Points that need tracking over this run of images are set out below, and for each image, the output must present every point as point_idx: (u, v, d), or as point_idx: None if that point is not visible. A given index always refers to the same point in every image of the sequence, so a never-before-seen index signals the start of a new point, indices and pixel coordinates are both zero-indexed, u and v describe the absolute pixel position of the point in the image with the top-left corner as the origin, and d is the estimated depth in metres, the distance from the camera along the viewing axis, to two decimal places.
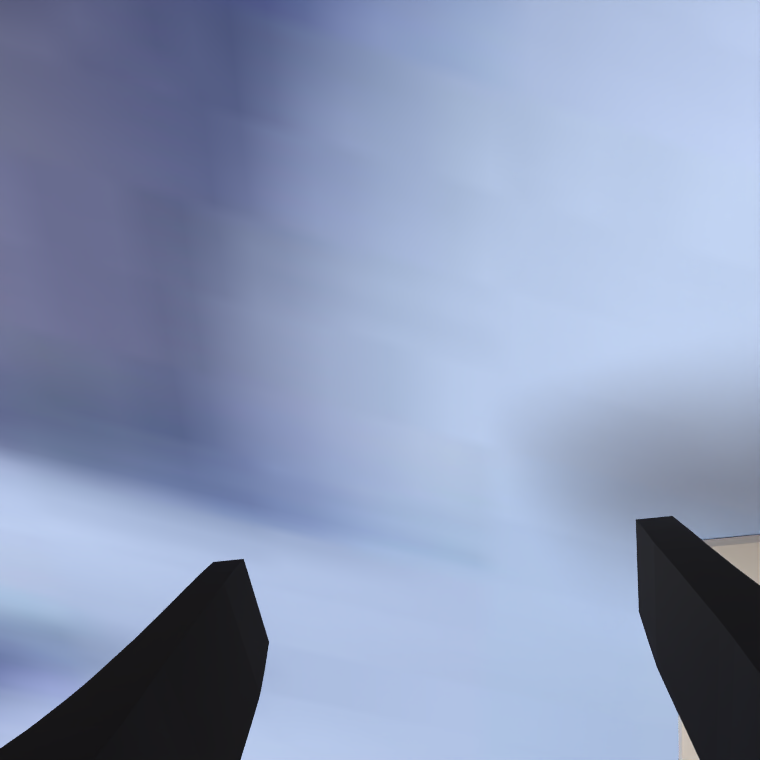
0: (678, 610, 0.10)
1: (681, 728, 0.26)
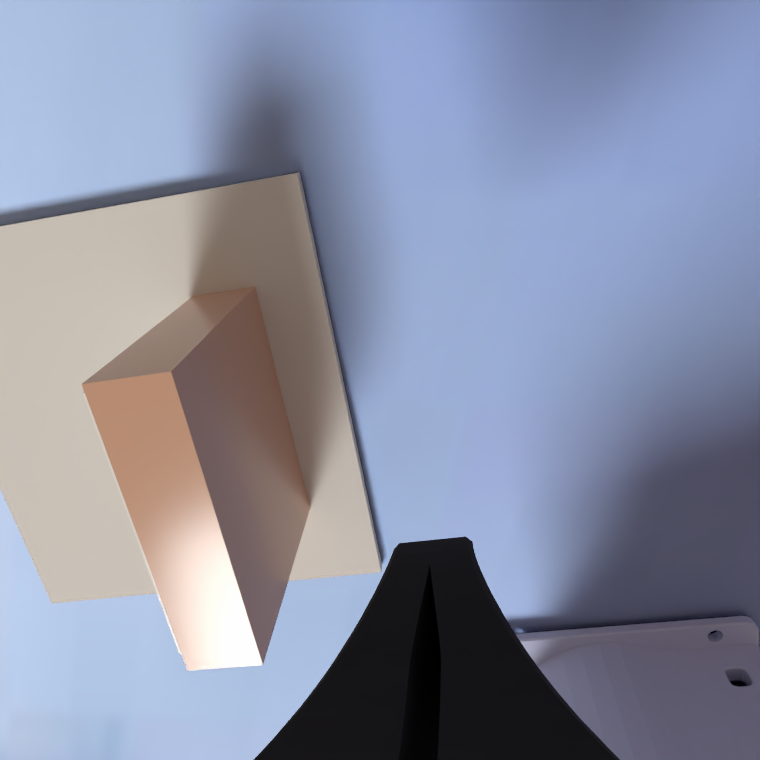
0: None
1: None
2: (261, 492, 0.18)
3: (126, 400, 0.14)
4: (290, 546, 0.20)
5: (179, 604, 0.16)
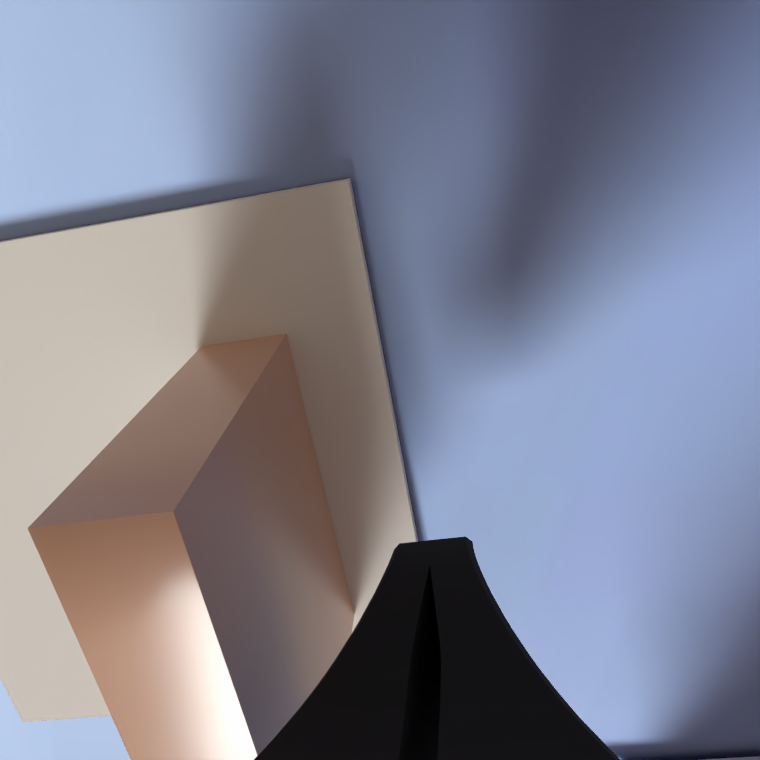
0: None
1: None
2: (301, 632, 0.13)
3: (100, 553, 0.09)
4: None
5: None
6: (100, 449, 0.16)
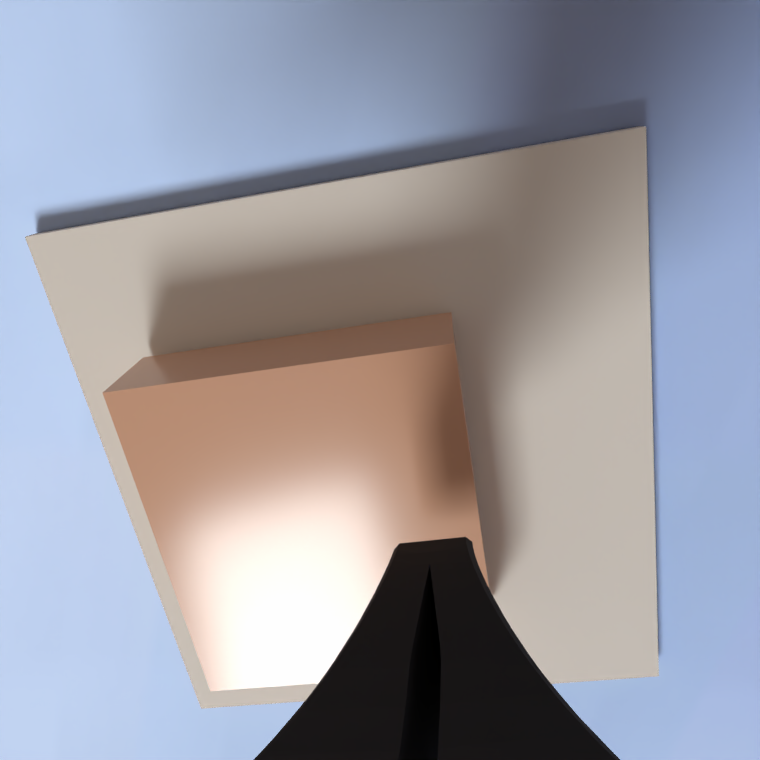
0: None
1: None
2: (302, 574, 0.14)
3: None
4: None
5: None
6: None
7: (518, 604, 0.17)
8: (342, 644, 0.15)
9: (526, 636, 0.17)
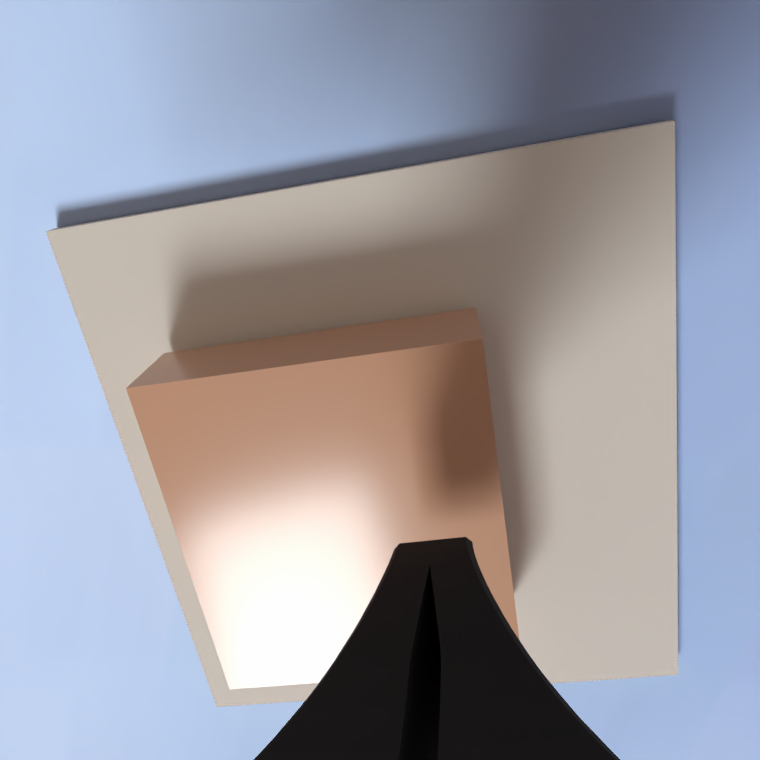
0: None
1: None
2: (324, 571, 0.14)
3: None
4: None
5: None
6: None
7: (538, 602, 0.17)
8: None
9: (545, 634, 0.17)
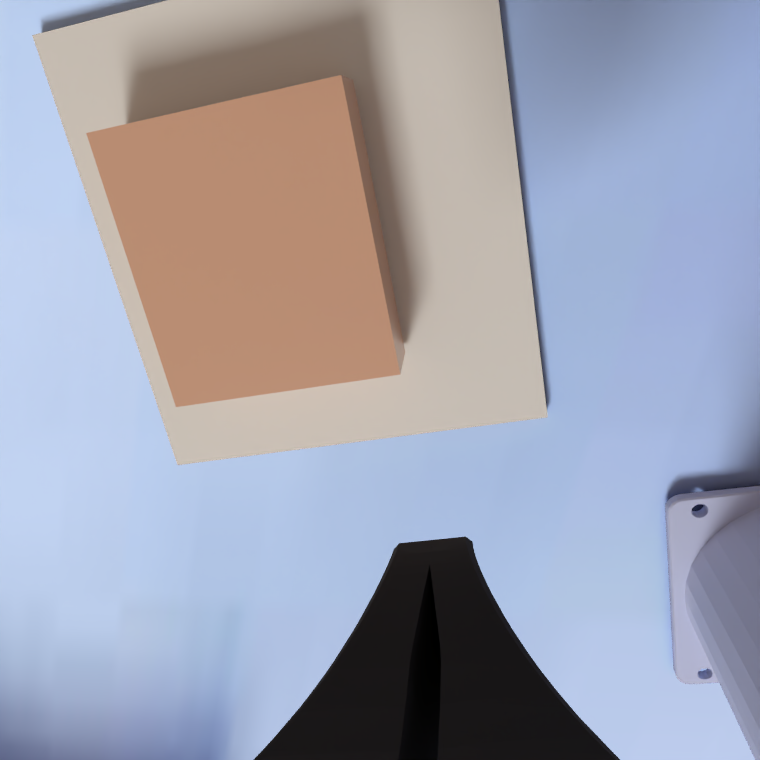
0: None
1: (417, 433, 0.22)
2: (241, 290, 0.18)
3: None
4: (299, 371, 0.19)
5: None
6: None
7: (427, 351, 0.21)
8: (276, 356, 0.19)
9: (436, 382, 0.21)
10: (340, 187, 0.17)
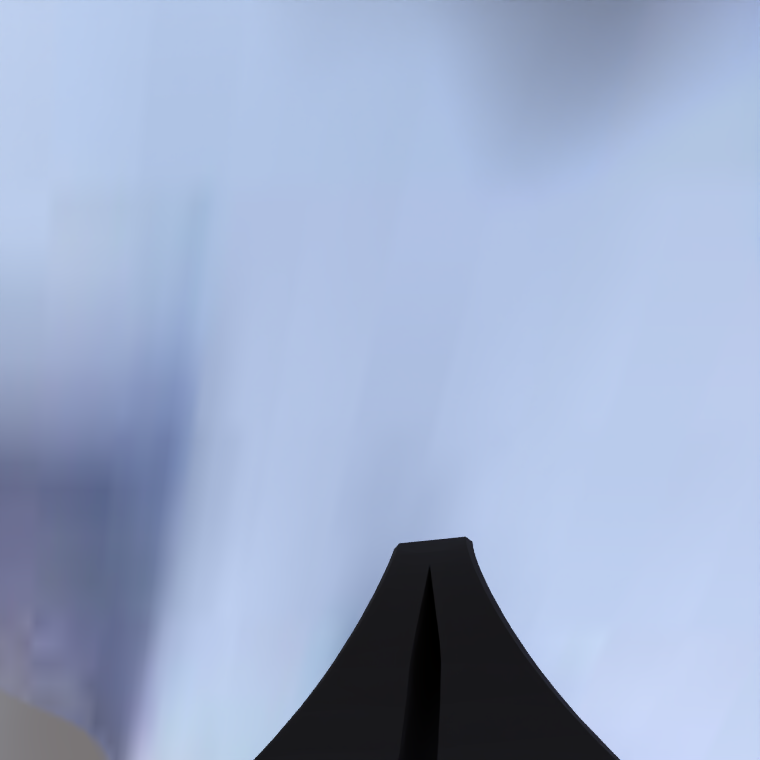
0: None
1: None
2: None
3: None
4: None
5: None
6: None
7: None
8: None
9: None
10: None
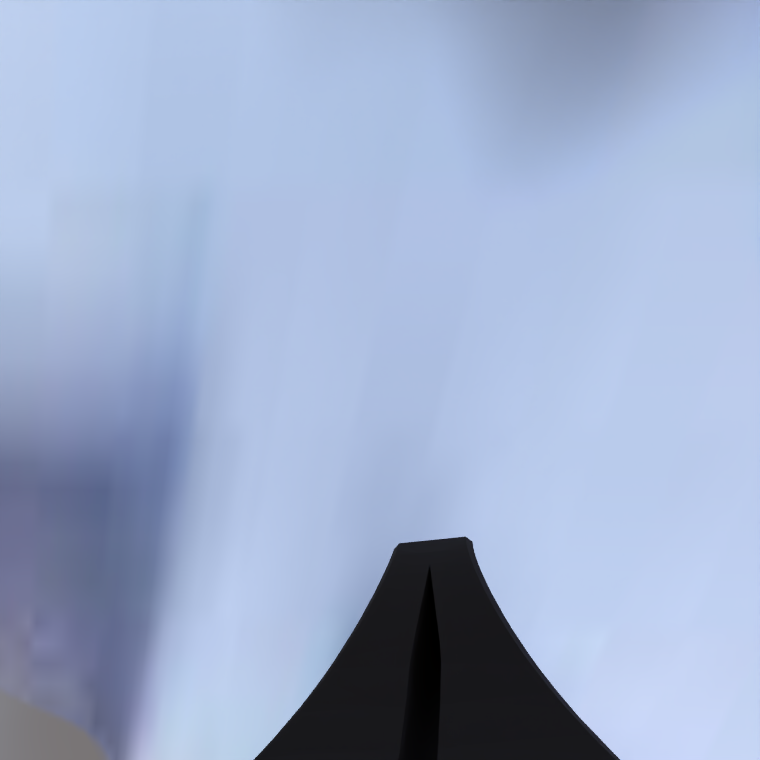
0: None
1: None
2: None
3: None
4: None
5: None
6: None
7: None
8: None
9: None
10: None
